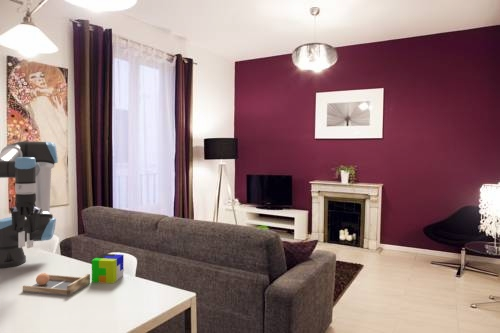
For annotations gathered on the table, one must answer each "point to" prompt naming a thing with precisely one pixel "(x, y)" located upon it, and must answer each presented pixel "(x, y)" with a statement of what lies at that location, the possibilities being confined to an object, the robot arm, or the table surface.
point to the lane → (56, 286)
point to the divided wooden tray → (70, 289)
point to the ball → (42, 279)
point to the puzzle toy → (107, 268)
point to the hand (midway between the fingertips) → (25, 247)
